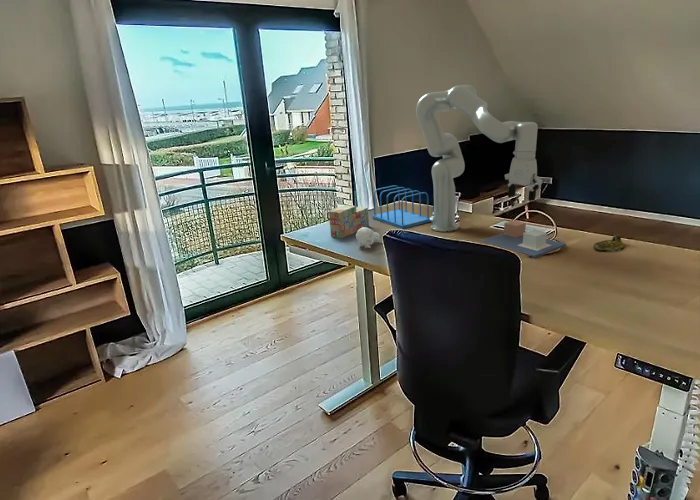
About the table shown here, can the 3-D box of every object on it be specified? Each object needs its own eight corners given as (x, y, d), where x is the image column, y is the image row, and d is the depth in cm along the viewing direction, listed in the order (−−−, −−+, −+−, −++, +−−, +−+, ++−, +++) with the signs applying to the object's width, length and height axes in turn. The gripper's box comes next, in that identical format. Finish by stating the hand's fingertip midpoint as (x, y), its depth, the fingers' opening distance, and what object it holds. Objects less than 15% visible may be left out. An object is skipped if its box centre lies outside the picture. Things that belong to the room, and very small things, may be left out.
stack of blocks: (358, 224, 232) (357, 200, 228) (369, 226, 228) (367, 201, 224) (330, 236, 217) (328, 210, 213) (341, 238, 213) (339, 212, 209)
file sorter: (372, 219, 240) (370, 189, 235) (399, 212, 249) (398, 184, 244) (402, 229, 220) (401, 197, 215) (431, 222, 228) (430, 190, 223)
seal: (609, 258, 173) (630, 248, 181) (612, 246, 171) (633, 236, 179) (585, 249, 180) (606, 240, 188) (588, 238, 178) (609, 229, 186)
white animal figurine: (354, 227, 197) (372, 223, 205) (354, 247, 199) (372, 242, 207) (365, 229, 192) (384, 225, 201) (365, 250, 195) (383, 244, 203)
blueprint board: (479, 242, 195) (479, 240, 194) (510, 232, 205) (510, 229, 204) (533, 258, 174) (533, 255, 173) (565, 246, 184) (566, 243, 184)
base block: (522, 245, 185) (523, 232, 183) (532, 241, 188) (533, 229, 186) (535, 248, 180) (536, 236, 179) (545, 245, 183) (546, 232, 182)
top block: (503, 234, 199) (504, 223, 198) (513, 231, 202) (513, 220, 201) (515, 237, 194) (516, 226, 193) (525, 234, 198) (525, 223, 196)
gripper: (500, 154, 188) (498, 196, 194) (537, 158, 174) (533, 203, 180) (513, 151, 192) (510, 193, 198) (550, 156, 178) (546, 200, 184)
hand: (521, 198), depth 189 cm, fingers open, 9 cm apart
